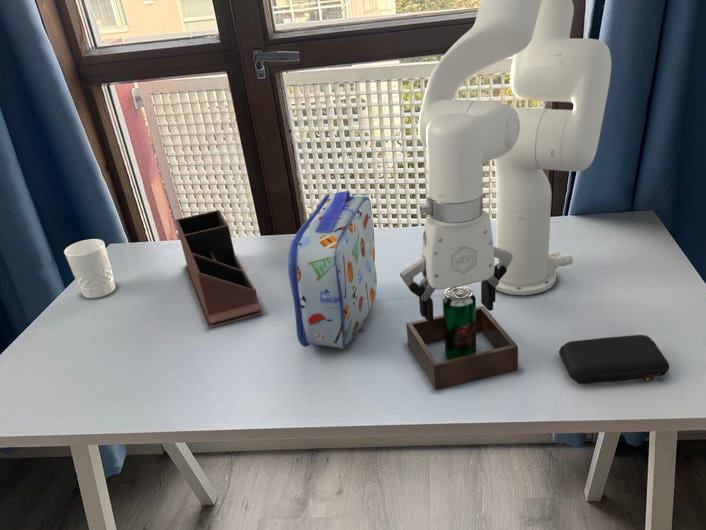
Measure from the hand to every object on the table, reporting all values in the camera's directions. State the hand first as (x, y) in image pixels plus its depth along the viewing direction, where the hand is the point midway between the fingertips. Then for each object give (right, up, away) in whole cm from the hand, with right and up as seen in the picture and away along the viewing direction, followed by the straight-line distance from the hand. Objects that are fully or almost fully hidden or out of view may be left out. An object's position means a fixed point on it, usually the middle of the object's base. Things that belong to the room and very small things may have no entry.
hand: (457, 312), depth 108 cm
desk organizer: (-44, +7, +34) cm, 56 cm away
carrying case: (+23, -9, -1) cm, 25 cm away
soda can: (+1, -7, +5) cm, 9 cm away
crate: (+1, -7, +5) cm, 9 cm away
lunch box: (-18, 0, +19) cm, 27 cm away
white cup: (-70, +7, +39) cm, 81 cm away
